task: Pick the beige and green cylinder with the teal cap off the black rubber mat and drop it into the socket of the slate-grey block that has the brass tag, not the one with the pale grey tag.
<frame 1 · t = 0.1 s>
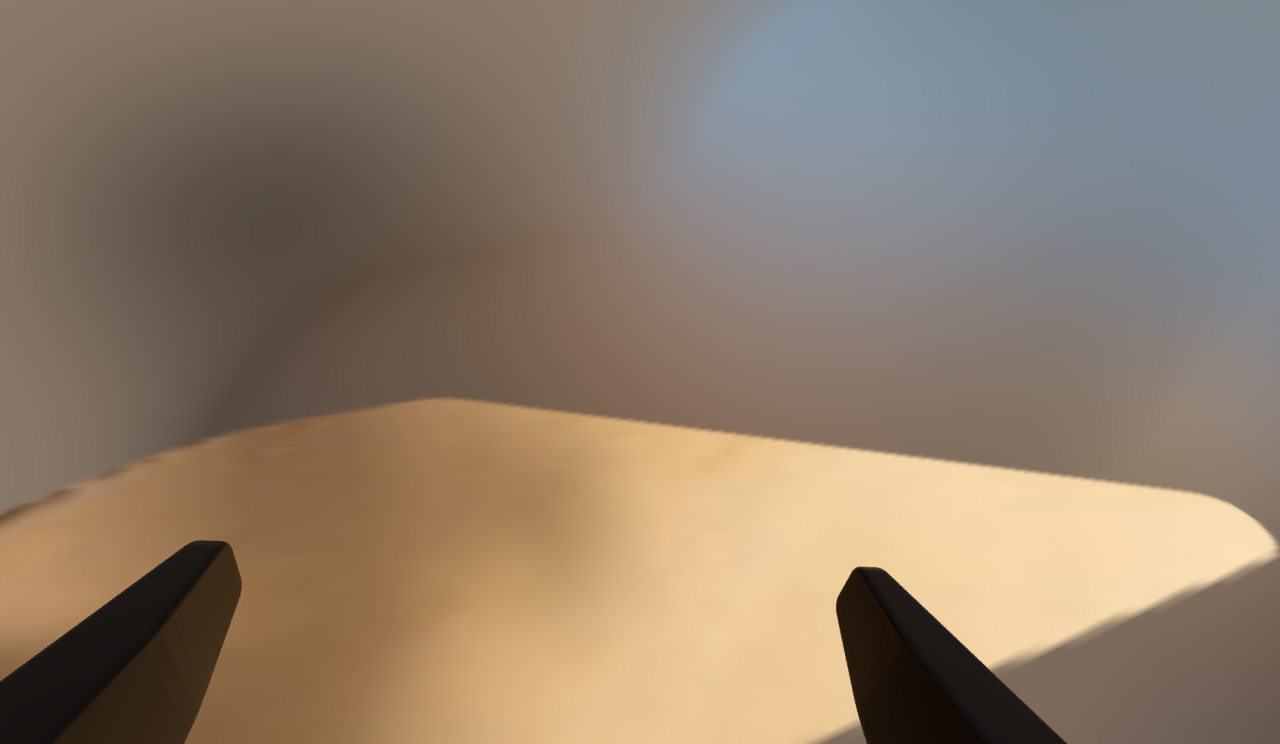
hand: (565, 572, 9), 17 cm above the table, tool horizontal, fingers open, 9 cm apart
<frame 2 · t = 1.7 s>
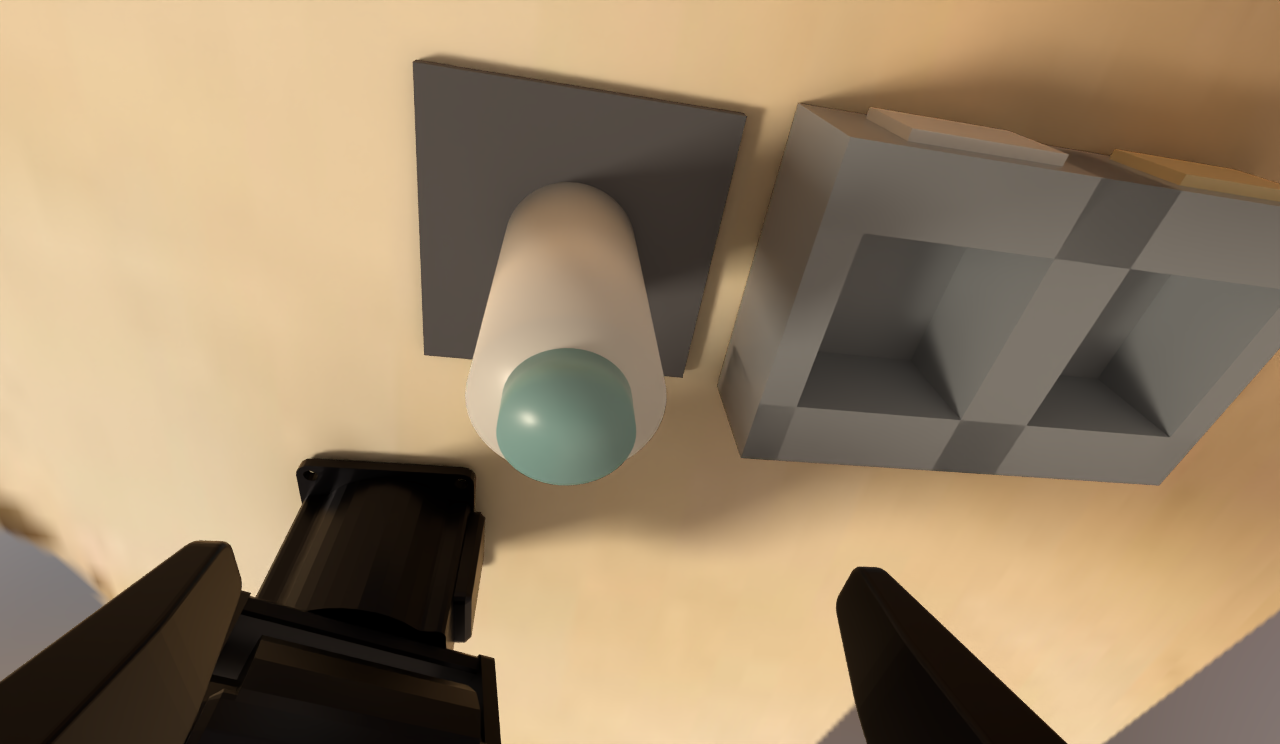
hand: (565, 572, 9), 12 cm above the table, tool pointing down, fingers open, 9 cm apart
socket block: (967, 289, 21), on the table
beige and green cylinder: (570, 246, 19), resting on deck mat
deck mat: (570, 241, 19), on the table
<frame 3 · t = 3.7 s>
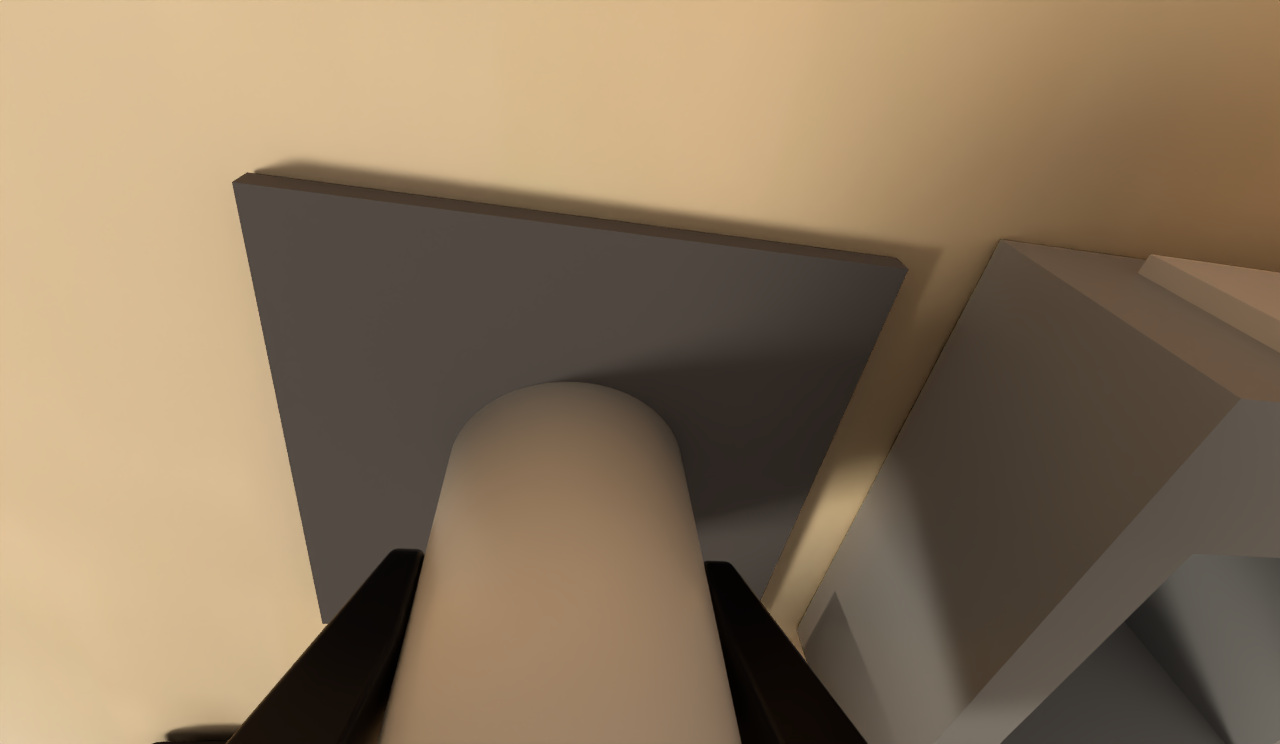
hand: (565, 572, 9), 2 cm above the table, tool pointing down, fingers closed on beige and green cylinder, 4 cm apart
socket block: (1212, 501, 13), on the table
beige and green cylinder: (567, 475, 10), resting on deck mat, touching gripper
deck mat: (567, 459, 11), on the table
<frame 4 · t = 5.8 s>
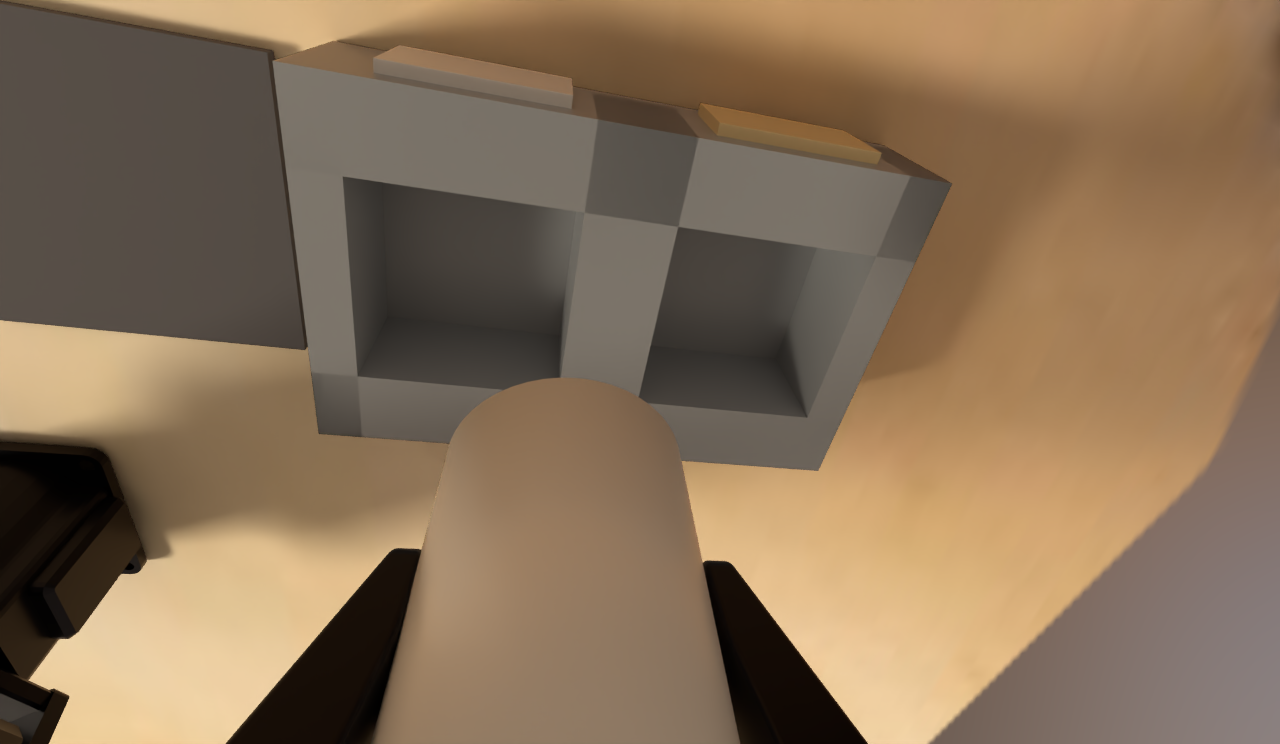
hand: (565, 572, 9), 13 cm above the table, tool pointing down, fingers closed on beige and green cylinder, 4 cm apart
socket block: (605, 259, 20), on the table
beige and green cylinder: (565, 472, 10), point 11 cm above the table, touching gripper
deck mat: (123, 193, 17), on the table
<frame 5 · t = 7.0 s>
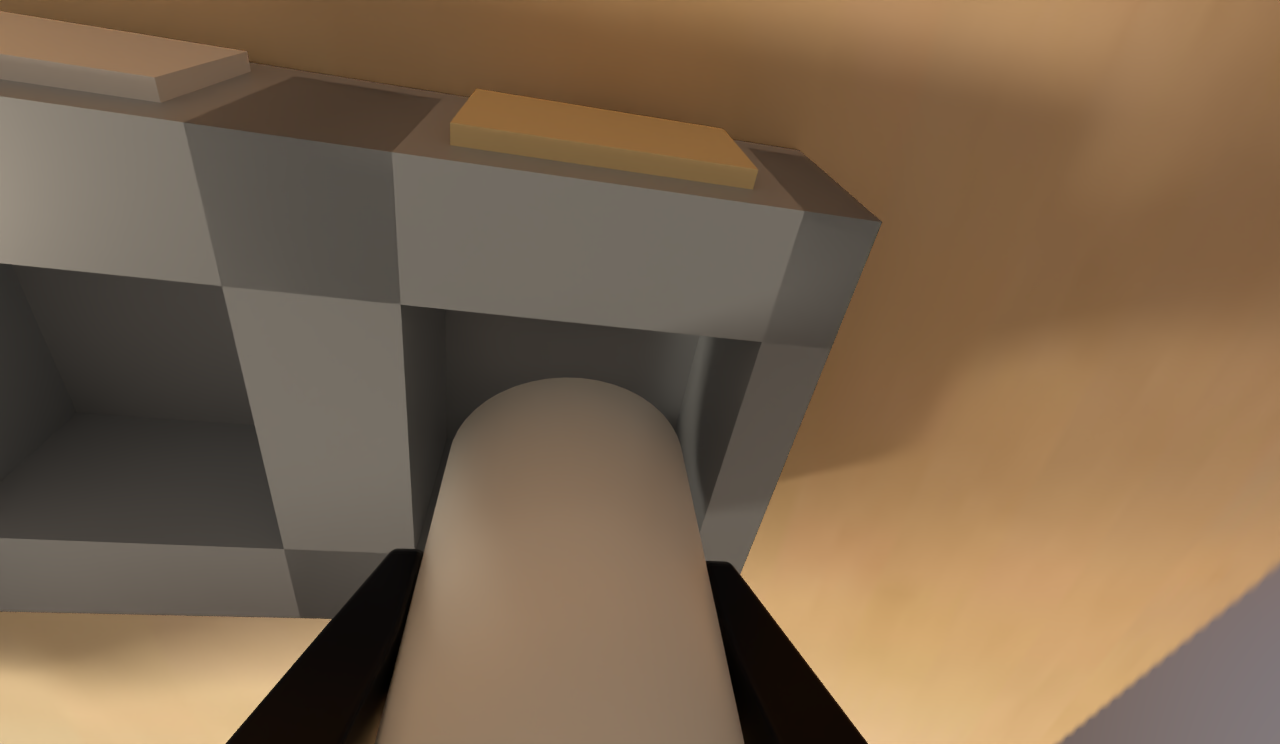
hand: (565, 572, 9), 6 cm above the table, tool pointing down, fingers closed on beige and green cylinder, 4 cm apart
socket block: (393, 324, 13), on the table
beige and green cylinder: (568, 472, 10), point 4 cm above the table, touching gripper
when the fingers open (4 cm above the table, at t = 8.1 s): beige and green cylinder drops 2 cm, resting on socket block.
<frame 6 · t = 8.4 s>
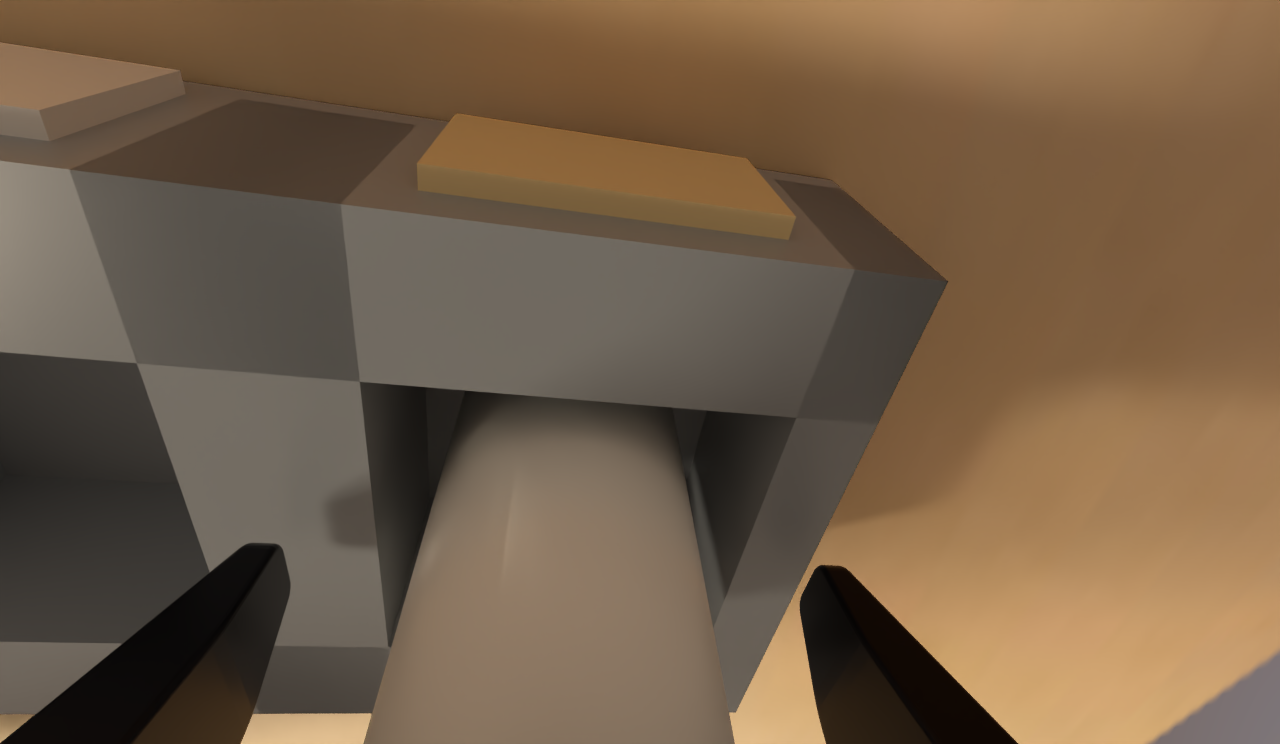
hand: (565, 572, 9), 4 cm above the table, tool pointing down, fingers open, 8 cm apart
socket block: (367, 374, 12), on the table
beige and green cylinder: (569, 403, 12), point 1 cm above the table, touching socket block
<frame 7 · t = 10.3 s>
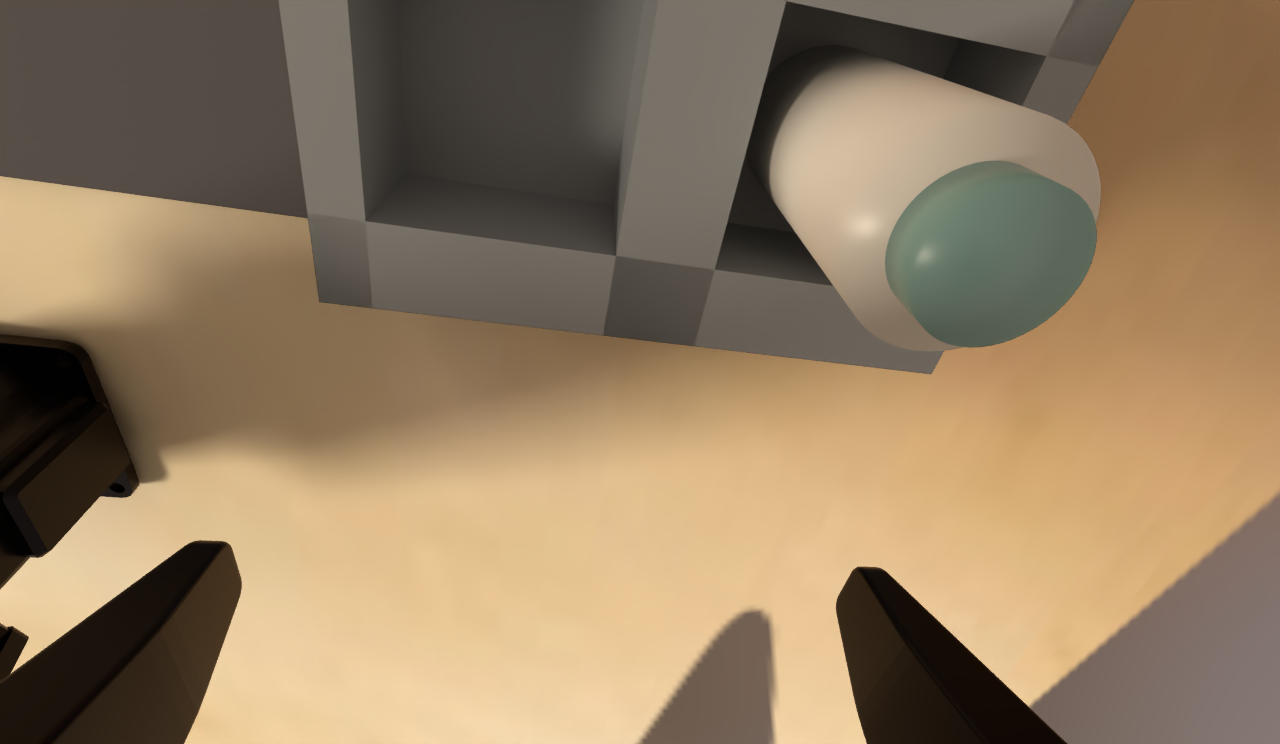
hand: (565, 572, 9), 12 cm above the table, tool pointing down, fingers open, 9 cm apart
socket block: (672, 103, 16), on the table
beige and green cylinder: (818, 129, 16), point 1 cm above the table, touching socket block
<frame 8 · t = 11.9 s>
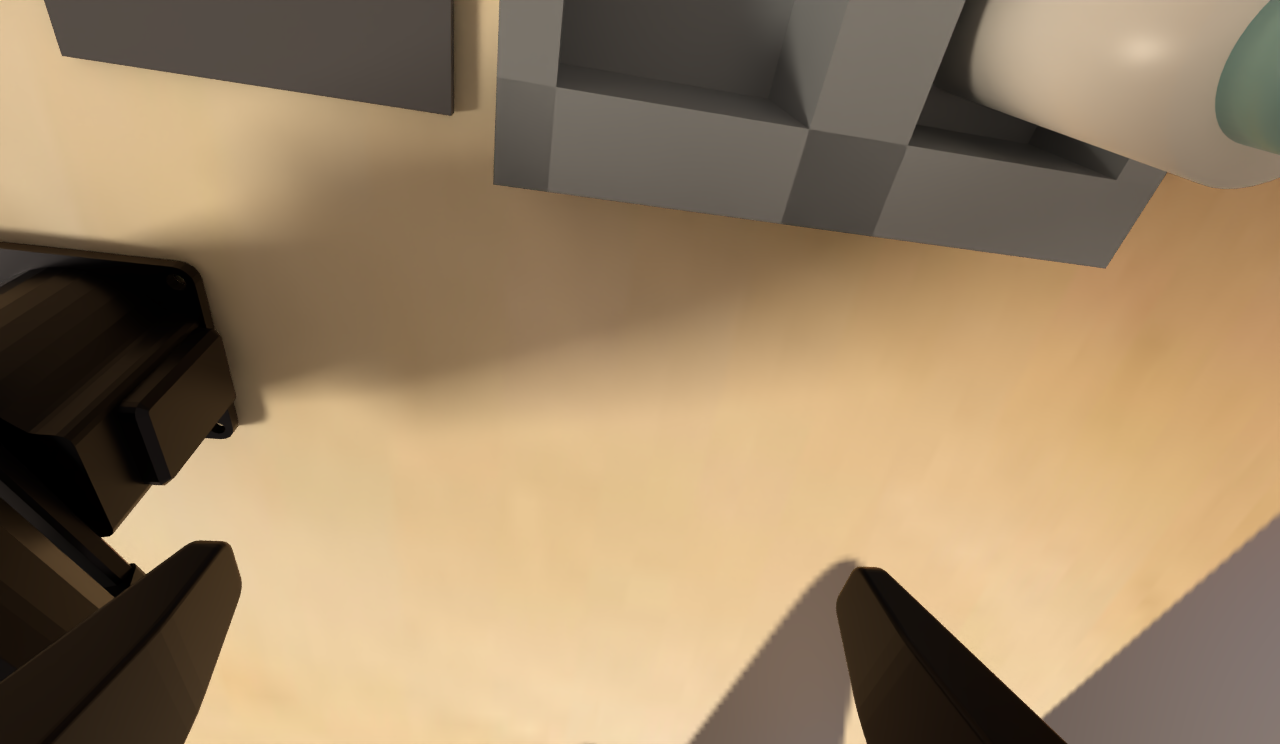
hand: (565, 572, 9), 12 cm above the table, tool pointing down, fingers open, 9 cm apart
beige and green cylinder: (991, 11, 15), point 1 cm above the table, touching socket block
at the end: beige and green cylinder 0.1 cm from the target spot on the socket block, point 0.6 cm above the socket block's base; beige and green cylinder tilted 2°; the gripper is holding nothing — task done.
